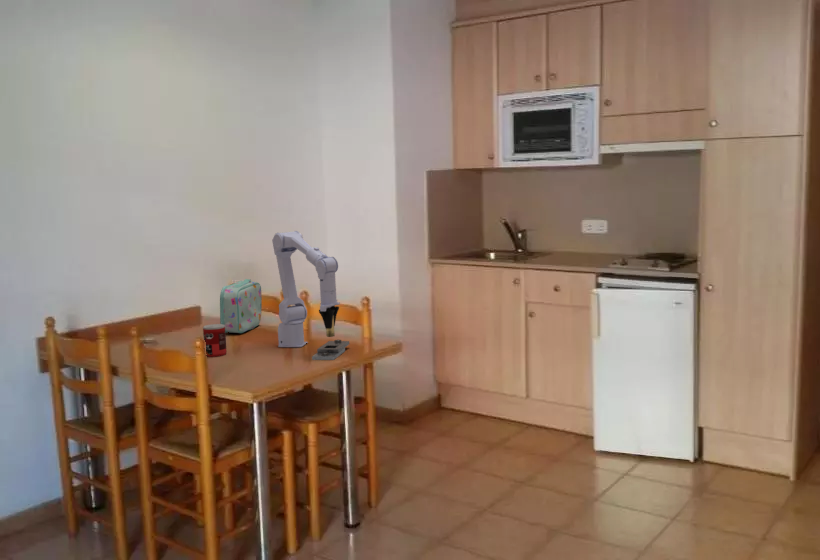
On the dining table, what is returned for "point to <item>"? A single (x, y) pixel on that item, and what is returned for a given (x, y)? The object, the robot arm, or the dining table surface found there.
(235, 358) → the dining table surface
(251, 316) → the lunch box
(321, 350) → the chain end upper
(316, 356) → the chain end lower
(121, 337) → the dining table surface
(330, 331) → the brass pin
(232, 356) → the dining table surface
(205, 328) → the canned food
